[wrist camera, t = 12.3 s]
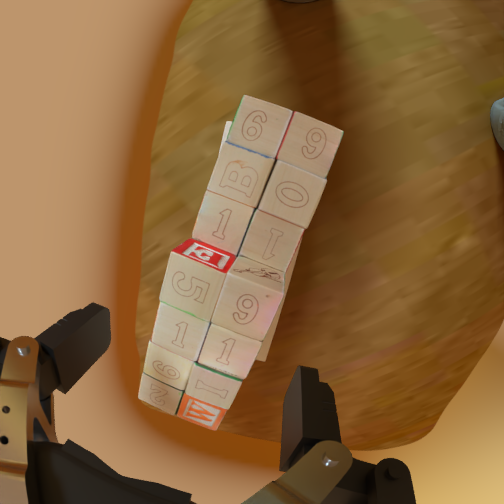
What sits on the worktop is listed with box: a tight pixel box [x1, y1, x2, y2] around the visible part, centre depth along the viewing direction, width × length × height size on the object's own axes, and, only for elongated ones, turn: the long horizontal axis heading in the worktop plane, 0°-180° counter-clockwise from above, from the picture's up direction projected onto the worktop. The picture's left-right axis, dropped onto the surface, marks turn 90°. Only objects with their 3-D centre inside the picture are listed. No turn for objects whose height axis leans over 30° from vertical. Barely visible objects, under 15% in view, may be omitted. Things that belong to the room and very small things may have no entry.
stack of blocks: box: [138, 95, 344, 430], centre depth 20 cm, size 21×6×12 cm, turn 159°
